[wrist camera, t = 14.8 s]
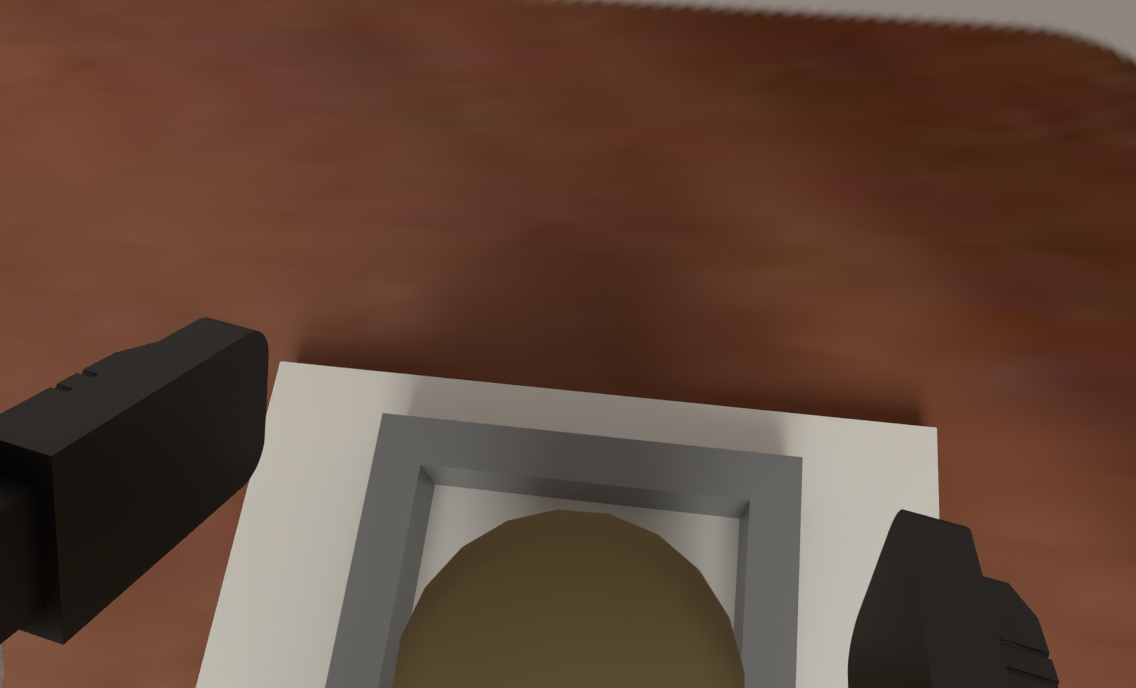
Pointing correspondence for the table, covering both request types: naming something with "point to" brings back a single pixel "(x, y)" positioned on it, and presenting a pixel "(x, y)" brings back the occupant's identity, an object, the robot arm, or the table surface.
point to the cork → (568, 612)
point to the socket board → (540, 484)
